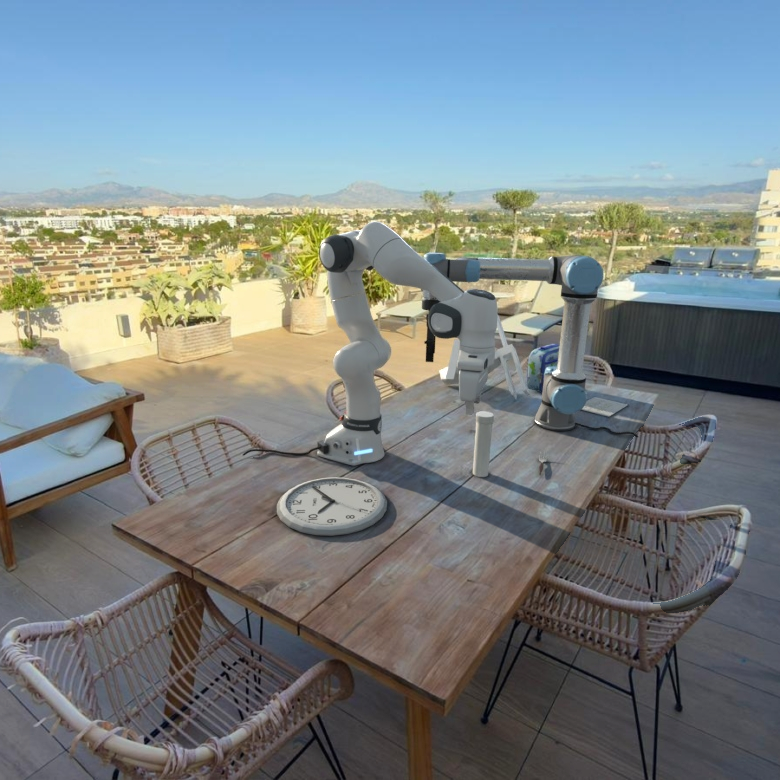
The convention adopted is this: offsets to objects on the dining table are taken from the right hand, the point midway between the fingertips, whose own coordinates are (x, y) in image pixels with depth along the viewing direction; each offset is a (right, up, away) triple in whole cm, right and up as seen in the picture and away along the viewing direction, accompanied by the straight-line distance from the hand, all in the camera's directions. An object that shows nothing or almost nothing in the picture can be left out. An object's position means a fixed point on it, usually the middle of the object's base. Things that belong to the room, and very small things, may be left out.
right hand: (430, 357), depth 190 cm
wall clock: (-30, -43, -47) cm, 71 cm away
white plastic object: (+27, -13, +54) cm, 61 cm away
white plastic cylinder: (+14, -38, -27) cm, 48 cm away
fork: (+34, -37, -21) cm, 54 cm away
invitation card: (+77, -19, +37) cm, 87 cm away
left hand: (+7, -17, -55) cm, 58 cm away
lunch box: (+61, -11, +62) cm, 87 cm away
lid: (+14, -19, -33) cm, 40 cm away
